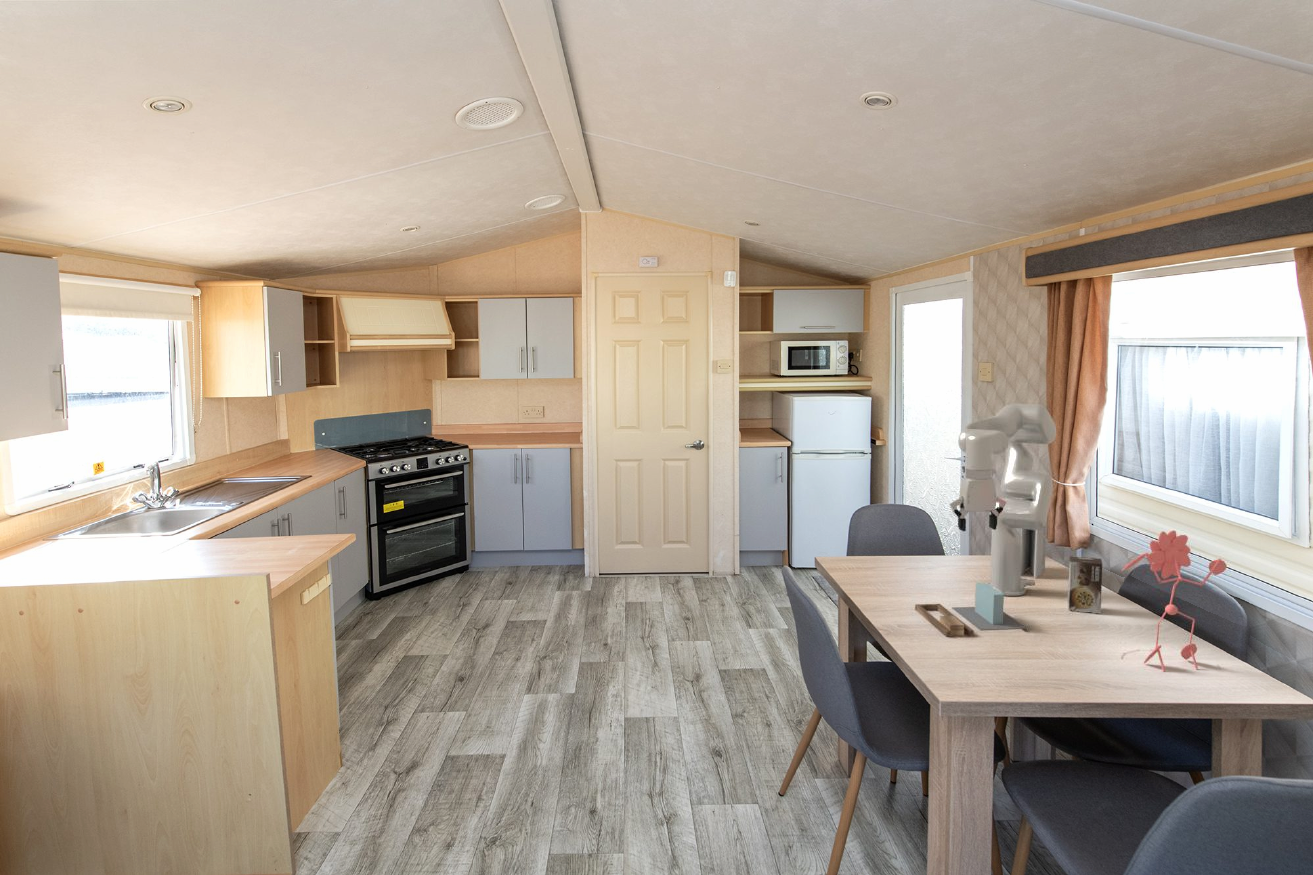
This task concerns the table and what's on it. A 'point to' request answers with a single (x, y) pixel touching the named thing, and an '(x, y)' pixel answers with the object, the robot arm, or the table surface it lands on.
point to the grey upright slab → (1033, 549)
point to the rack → (945, 631)
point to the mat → (986, 625)
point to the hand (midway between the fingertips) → (977, 529)
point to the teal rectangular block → (989, 603)
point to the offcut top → (951, 623)
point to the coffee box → (1085, 584)
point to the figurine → (1169, 560)
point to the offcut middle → (955, 631)
